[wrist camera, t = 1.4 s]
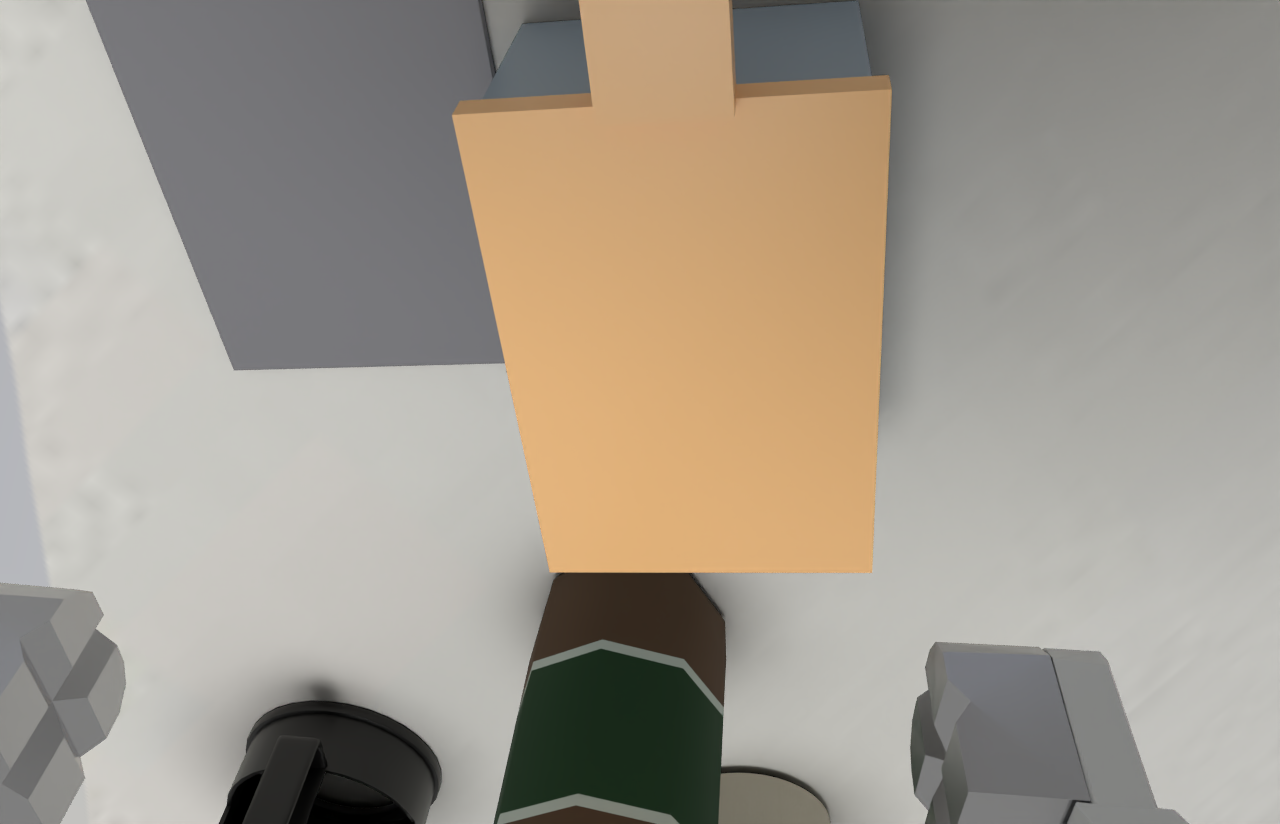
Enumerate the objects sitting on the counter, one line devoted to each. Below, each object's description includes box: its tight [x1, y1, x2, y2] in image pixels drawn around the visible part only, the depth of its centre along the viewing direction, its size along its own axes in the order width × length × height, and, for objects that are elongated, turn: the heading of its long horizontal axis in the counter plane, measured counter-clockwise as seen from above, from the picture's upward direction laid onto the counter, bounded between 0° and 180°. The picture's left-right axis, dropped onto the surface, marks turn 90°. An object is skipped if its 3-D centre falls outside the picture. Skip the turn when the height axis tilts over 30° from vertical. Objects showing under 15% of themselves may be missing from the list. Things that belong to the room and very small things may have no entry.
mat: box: [86, 0, 505, 370], centre depth 33 cm, size 11×14×1 cm
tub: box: [483, 1, 872, 99], centre depth 31 cm, size 9×14×6 cm, turn 6°
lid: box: [452, 0, 892, 573], centre depth 27 cm, size 10×19×2 cm, turn 6°
